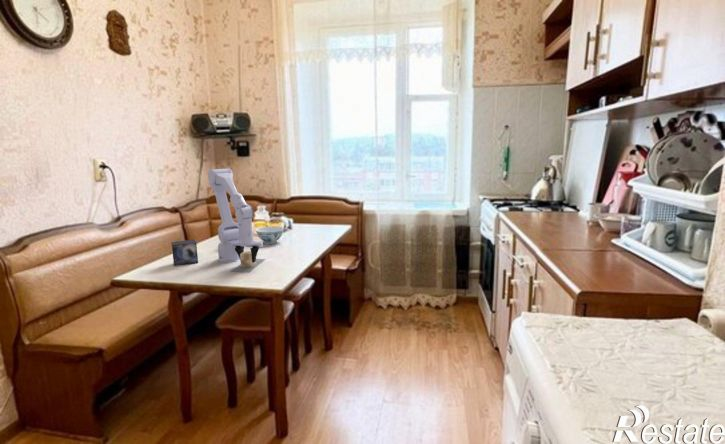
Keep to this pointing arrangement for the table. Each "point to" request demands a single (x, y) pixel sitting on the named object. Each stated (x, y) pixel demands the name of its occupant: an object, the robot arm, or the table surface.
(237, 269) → the grey plate
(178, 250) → the small box
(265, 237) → the chinaware
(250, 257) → the maple block
